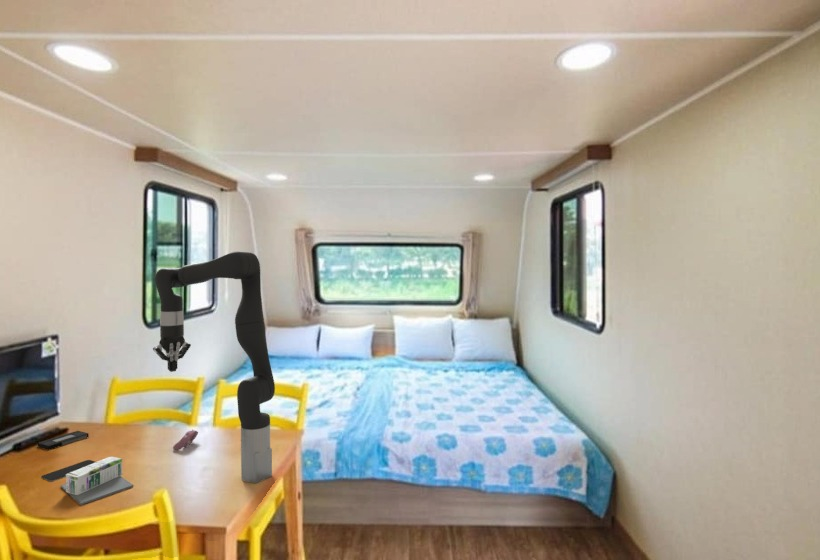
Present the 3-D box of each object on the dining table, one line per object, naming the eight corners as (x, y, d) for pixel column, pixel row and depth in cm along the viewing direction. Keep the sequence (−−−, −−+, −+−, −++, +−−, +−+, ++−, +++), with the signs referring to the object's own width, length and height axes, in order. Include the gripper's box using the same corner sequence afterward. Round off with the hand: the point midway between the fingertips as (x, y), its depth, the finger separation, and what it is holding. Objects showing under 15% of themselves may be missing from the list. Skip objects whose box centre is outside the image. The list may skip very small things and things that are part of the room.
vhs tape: (88, 438, 185) (88, 433, 185) (48, 451, 172) (48, 446, 172) (77, 435, 188) (77, 430, 188) (37, 447, 175) (37, 442, 175)
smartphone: (100, 463, 160) (51, 480, 146) (100, 465, 160) (51, 483, 146) (88, 459, 163) (39, 476, 150) (88, 461, 163) (39, 478, 150)
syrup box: (123, 475, 150) (77, 496, 136) (110, 472, 152) (64, 492, 138) (122, 458, 150) (77, 477, 136) (110, 455, 152) (64, 474, 138)
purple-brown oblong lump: (182, 455, 171) (190, 439, 171) (171, 449, 171) (179, 433, 171) (194, 445, 181) (202, 429, 181) (184, 440, 181) (191, 424, 181)
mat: (133, 486, 143) (133, 484, 143) (80, 505, 132) (80, 503, 132) (110, 471, 154) (110, 469, 154) (60, 487, 143) (60, 485, 143)
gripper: (157, 326, 155) (158, 376, 156) (195, 322, 166) (195, 369, 167) (147, 324, 160) (148, 373, 161) (185, 321, 171) (185, 366, 171)
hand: (172, 371), depth 164 cm, fingers closed
